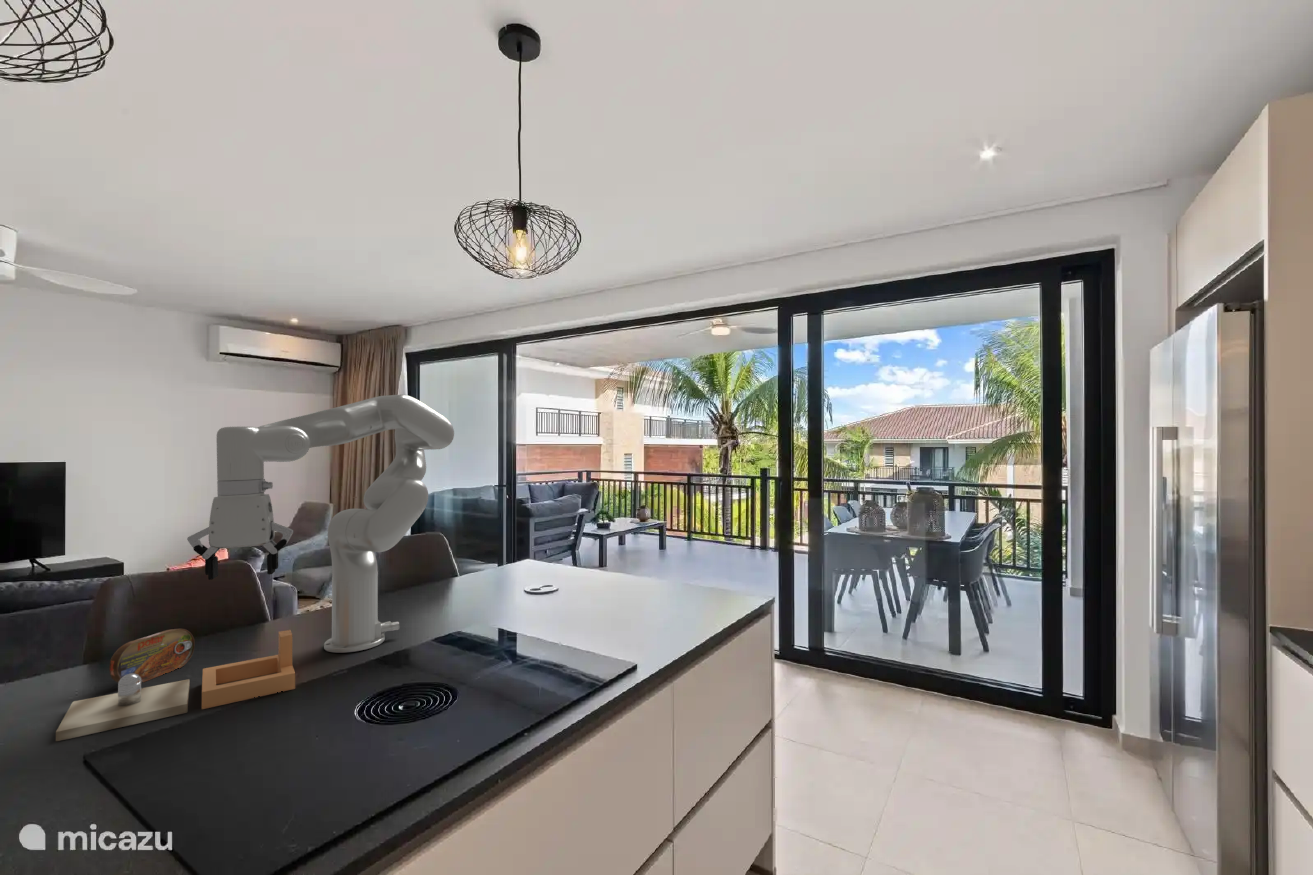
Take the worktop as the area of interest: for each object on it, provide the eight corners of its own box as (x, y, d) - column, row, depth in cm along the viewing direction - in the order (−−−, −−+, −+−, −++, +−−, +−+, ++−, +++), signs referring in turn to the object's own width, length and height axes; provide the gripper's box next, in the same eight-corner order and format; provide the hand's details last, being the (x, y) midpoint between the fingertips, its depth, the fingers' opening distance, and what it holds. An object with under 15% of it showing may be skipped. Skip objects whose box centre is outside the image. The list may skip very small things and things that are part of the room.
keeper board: (189, 686, 111) (189, 679, 111) (187, 712, 100) (187, 703, 100) (72, 710, 102) (72, 701, 102) (55, 741, 91) (55, 732, 91)
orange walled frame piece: (287, 667, 121) (287, 624, 121) (295, 688, 110) (295, 641, 110) (202, 684, 113) (203, 637, 113) (201, 709, 102) (202, 657, 102)
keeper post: (141, 697, 103) (142, 669, 103) (140, 703, 101) (140, 674, 101) (119, 702, 101) (119, 673, 101) (116, 708, 99) (117, 678, 99)
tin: (118, 692, 110) (118, 647, 110) (105, 690, 110) (105, 646, 110) (196, 663, 124) (196, 623, 124) (184, 662, 125) (184, 623, 125)
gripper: (296, 485, 121) (297, 567, 121) (195, 489, 114) (196, 576, 114) (287, 488, 114) (289, 575, 114) (179, 492, 107) (181, 584, 107)
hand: (242, 575), depth 114 cm, fingers open, 9 cm apart
